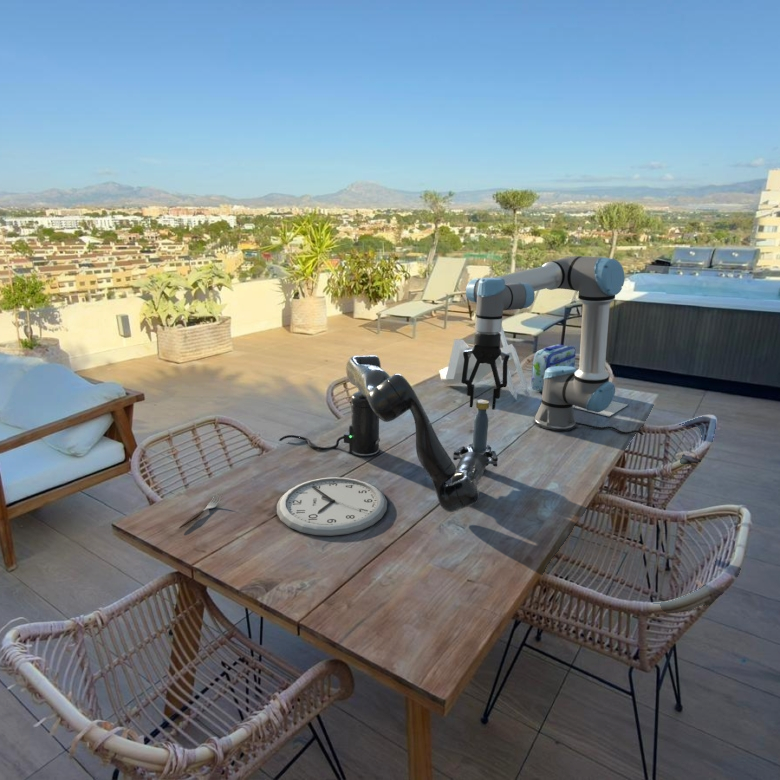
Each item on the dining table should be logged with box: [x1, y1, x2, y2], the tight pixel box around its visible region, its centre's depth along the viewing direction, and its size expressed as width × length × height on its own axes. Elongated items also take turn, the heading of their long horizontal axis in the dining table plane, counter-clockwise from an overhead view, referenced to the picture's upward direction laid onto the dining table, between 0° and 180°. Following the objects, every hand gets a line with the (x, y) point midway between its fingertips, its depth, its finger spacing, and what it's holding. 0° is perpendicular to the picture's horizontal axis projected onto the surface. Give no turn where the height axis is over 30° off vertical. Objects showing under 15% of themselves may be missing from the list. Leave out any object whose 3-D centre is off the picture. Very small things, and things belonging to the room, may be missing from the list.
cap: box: [475, 399, 490, 410], centre depth 159 cm, size 4×4×2 cm
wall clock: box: [276, 476, 388, 537], centre depth 142 cm, size 30×2×30 cm
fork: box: [178, 493, 223, 529], centre depth 137 cm, size 3×16×2 cm, turn 160°
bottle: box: [472, 408, 489, 453], centre depth 162 cm, size 4×4×22 cm
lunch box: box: [530, 344, 577, 392], centre depth 247 cm, size 26×11×21 cm, turn 134°
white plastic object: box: [438, 326, 531, 400], centre depth 245 cm, size 37×45×31 cm
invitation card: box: [573, 400, 629, 418], centre depth 226 cm, size 21×1×15 cm
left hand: (480, 446), depth 166 cm, fingers closed on bottle, 4 cm apart
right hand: (482, 406), depth 159 cm, fingers open, 6 cm apart
